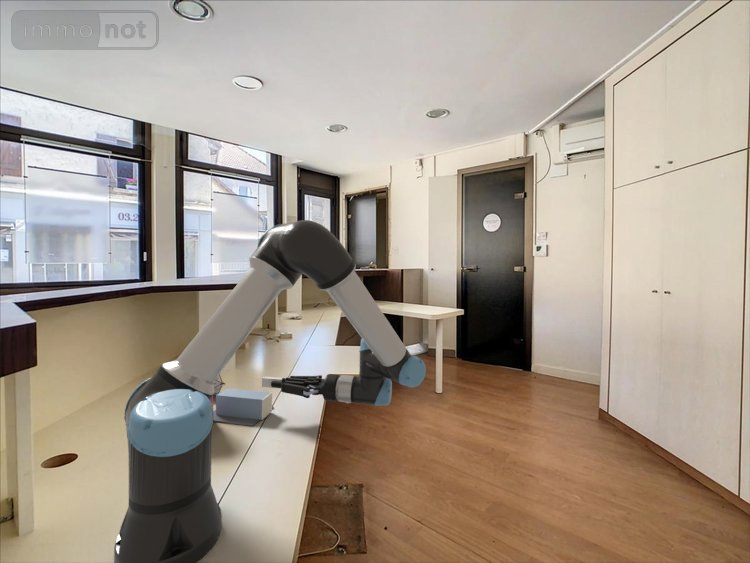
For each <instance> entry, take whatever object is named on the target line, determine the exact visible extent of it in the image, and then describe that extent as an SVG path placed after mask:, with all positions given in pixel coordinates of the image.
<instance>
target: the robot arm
mask: <svg viewBox="0 0 750 563" xmlns="http://www.w3.org/2000/svg"><path fill="white" fill-rule="evenodd" d="M256 247H257V248H256V249H255V250H254V252H252V254H251V256H250V257H249V259H248V260H249V266H250V267H249V269H248V270H247V271H246V273H245V274H244V275H243V277H242V278H241V279H240V280H239V281H238V282H237V284H236V286H235V287H233V289H232V290H231V292H230V293H229V294H228V295H227V297H225V299H224V300H223V301H222V303H221V304H220V305H219V307H217V309H216V310H215V311H214V312H213V313H212V315H211V316H210V317H209V318H208V320H206V323H204V325H203V326H202V327H201V329H199V331H198V332H197V334H196V335H195V336H194V338H193V339H192V340H191V341H190V342H189V343H188V345H187V346H186V347H185V348H184V350H183V351H182V352H181V353H180V354H179V356H178V357H177V358H176V359H174V360H172V361H171V360H170V361H168V362H163V363H162V364H161V366H160V367H159V368H158V369H157V370H156V372H155V373H154V374H153V375H152V376H151V377H149V378H147V379H145V380H144V381H142V382H141V383H139V385H138V386H137V387H135V388H134V390H133V391H132V392H131V394H130V395H129V398H128V400H127V402H126V405H125V409H124V421H125V429H126V438H127V447H128V448H127V449H128V453H127V454H128V506H127V510H126V513H125V515H124V518H123V521H122V523H121V525H120V529H119V533H118V534H117V537H116V540H115V542H114V550H113V553H114V554H113V555H114V556H113V557H114V558H113V563H197V562H199V560H201V559H202V558H203V557H204V556H205V555H206V554H207V553H209V551H210V550H211V549H212V548H213V547H214V546H215V545H216V543H217V541H218V540H219V537H220V535H221V532H222V518H223V516H222V510H221V507H220V504H219V503H218V501H217V498H216V495H215V492H214V489H213V486H212V447H213V445H212V444H213V440H212V439H213V438H212V437H213V435H212V434H213V425H214V422H213V412H214V411H213V412H212V406H211V402H210V399H211V397H212V396H213V397H214V395H213V394H214V393H215V392H214V385H213V384H214V381H215V379H216V378H217V377H218V375H219V374H220V375H221V373H222V371H223V370H224V368H225V367H226V366H227V364H229V363H230V361H231V359H232V358H233V356H234V355H235V354H236V352H237V351H238V350H239V348H240V347H241V346H242V345H243V343H244V342H245V340H246V339H247V337H248V336H249V335H250V334H251V333H252V331H253V330H254V328H255V327H256V326H257V324H258V323H259V321H260V320H261V319H262V317H263V316H264V315H265V314H266V312H267V311H268V309H270V307H271V306H272V304H273V303H274V301H275V300H276V299H277V297H278V296H279V295H280V294H281V292H282V291H284V290H291V289H292V288H293V287H294V285H295V284H296V283H297V282H298V281H299V279H300V278H301V277H302V275H304V276H306V277H307V278H308V279H310V280H311V281H312V282H313V283H314V285H316V286H317V288H318V289H319V290H320V291H326V292H327V293H328V294H329V296H330V298H331V299H332V300H333V302H334V303H335V304H336V305H337V307H338V308H339V310H340V311H341V313H342V314H343V315H344V316H345V318H346V319H347V321H349V323H350V324H351V325H352V327H353V328H354V329H355V331H356V332H357V333H358V335H359V337H361V338H360V345H359V346H360V347H359V351H358V352H359V372H358V373H359V374H358V375H350V374H349V375H348V374H347V375H345V374H341V375H339V374H333V373H327V375H325V378H323V375H321V374H320V375H319V374H318V375H290V376H289V377H288V376H287V377H275V376H274V377H273V376H262V378H261V388H271V389H280V391H281V393H285V394H289V395H295V396H299V397H303V398H305V399H310V396H311V395H312V396H318V395H319V396H322V397H323V400H324V401H326V402H335V403H336V402H337V401H338V402H340V403H346V404H348V405H349V404H351V403H352V404H360V405H369V406H370V405H371V406H376V407H377V406H380V407H382V406H384V407H385V406H388V405H390V403H391V401H392V394H393V393H392V392H393V382H396V383H398V384H400V385H401V386H406V387H408V388H417V387H419V385H421V384H422V382H423V381H424V379H425V376H426V373H427V367H426V364H425V362H424V361H423V359H421V358H419V357H417V356H416V355H412V354H411V352H409V350H408V349H407V348H406V346H405V344H404V342H402V340H401V339H400V337H399V335H398V334H397V332H396V331H395V329H394V328H393V326H392V325H391V323H390V321H389V320H388V319H387V317H386V316H385V314H384V313H383V311H382V310H381V308H380V307H379V306H378V304H377V302H376V301H375V299H374V298H373V297H372V295H371V294H370V292H369V290H368V289H367V287H366V285H364V283H363V282H362V280H361V278H360V277H359V275H358V274H357V272H356V271H355V270H356V266H357V264H356V263H355V261H354V259H353V258H352V256H351V254H350V253H349V252H348V251H347V249H346V248H345V247H344V245H343V244H342V243H341V241H340V240H339V239H338V238H337V237H336V236H335V235H334V234H333V233H332V232H331V231H330V230H329V229H328V228H327V227H325V226H324V225H323V224H321V223H319V222H316V221H313V220H308V219H307V220H306V219H305V220H297V221H295V222H287V223H286V222H285V223H280V224H276V225H273V226H271V227H270V228H268V229H267V230H266V231H265V232H263V234H261V236H260V238H259V240H258V242H257V246H256ZM392 381H393V382H392Z"/></svg>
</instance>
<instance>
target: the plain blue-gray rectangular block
mask: <svg viewBox="0 0 750 563" xmlns="http://www.w3.org/2000/svg"><path fill="white" fill-rule="evenodd" d="M215 403H216V404H215V410H216V415H222V416H231V417H241V418H250V419H259V420H260V421H263V420H264V419H265V418H267V417H268V416H269V415H270V413H272V412H273V409H272V406H273V392H269V391H261V390H259V391H258V390H252V389H251V390H250V389H240V388H226V389H224V390H222V391H220V392H219V394H217V395H215Z"/></svg>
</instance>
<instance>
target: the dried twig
mask: <svg viewBox="0 0 750 563" xmlns="http://www.w3.org/2000/svg"><path fill="white" fill-rule="evenodd" d="M213 385H214V392H215V393H214V394H213V396H216V395H217V394H219V393H221V390H222V387H223V386H225V385H226V383H225V382H224V381H223V379H222V376H221V373H220V374H219V375H218V377H217V378H216V379H215V381H214V384H213Z"/></svg>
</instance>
